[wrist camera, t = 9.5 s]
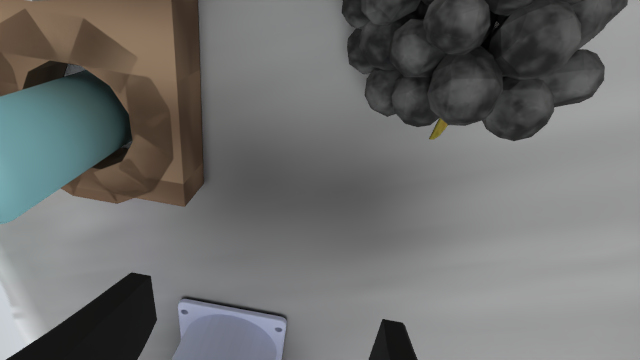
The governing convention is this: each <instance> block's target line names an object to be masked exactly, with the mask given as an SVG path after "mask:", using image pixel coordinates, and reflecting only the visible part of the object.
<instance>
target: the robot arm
mask: <svg viewBox="0 0 640 360" xmlns="http://www.w3.org/2000/svg"><path fill="white" fill-rule="evenodd" d="M178 314H179V324H180V335H181V342H180V344H179V346H178V347H177V349H176V351H175V353H174V355H173V357H172V359H171V360H282V354H283V347H284V340H285V332H286V325H287V321H286V319H285V318H283V317H280V316H275V315H270V314H264V313H259V312H254V311H248V310H243V309H238V308H232V307H227V306H222V305H216V304H211V303H205V302H200V301H195V300H189V299H181V300H180V302H179V303H178ZM156 321H157V317H156V310H155V303H154V296H153V289H152V282H151V276H148V275H142V274H137V273H130V274H129V275H127V276H126V277H124V278H123V279H122V280H120V281H119V282H117V283H116V284H115V285H113V286H112V287H111V288H109V289H108V290H107V291H105V292H104V293H102V294H101V295H100V296H98V297H97V298H96V299H94V300H93V301H92V302H90V303H89V304H87V305H86V306H85V307H83V308H82V309H80V310H79V311H78V312H76V313H75V314H73V315H72V316H71V317H69V318H68V319H66V320H65V321H63V322H62V323H61V324H59V325H58V326H56V327H55V328H53V329H52V330H51V331H49V332H48V333H46V334H45V335H43V336H42V337H40V338H39V339H37V340H36V341H34V342H32V343H31V344H29V345H28V346H26V347H25V348H23V349H22V350H20V351H19V352H17V353H16V354H14V355H13V356H11V357H9V358H8V359H6V360H137V359H138V357H139V356H140V354H141V352H142V350H143V348H144V346H145V344H146V342H147V340H148V338H149V336H150V334H151V332H152V330H153V327H154V325H155V323H156ZM369 360H418V359H417V357H416V354H415V352H414V349H413V347H412V344H411V341H410V339H409V336H408V333H407V330H406V327H405V325H404V324H403V323H401V322H395V321H390V320H385V319H382V322H381V325H380V328H379V331H378V334H377V337H376V340H375V343H374V345H373V348H372V351H371V354H370V357H369Z"/></svg>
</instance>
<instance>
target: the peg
mask: <svg viewBox="0 0 640 360" xmlns="http://www.w3.org/2000/svg"><path fill="white" fill-rule="evenodd" d="M131 140H132V134H131V127H130V120H129V114H128V112H127V111H126V109H125V108H124V106H123V105H122V103H121V102H120V100H119V99H118V97H117V96H116V94H115V93H114V91H113V90H112V88H111V87H110V86H109V85H108V84H106V83H105V82H104V81H102V80H101V79H99V78H98V77H96V76H95V75H93V74H92V73H91V72H89V71H88V70H85V71H81V72H78V73H75V74H72V75H69V76H65V77H62V78H59V79H56V80H52V81H49V82H46V83H43V84H39V85H36V86H33V87H30V88H27V89H23V90H20V91H17V92H14V93H10V94H7V95H4V96H1V97H0V224H3V223H7V222H10V221H12V220H14V219H15V218H17V217H18V216H20V215H21V214H23V213H24V212H26V211H27V210H29V209H30V208H32V207H33V206H35V205H36V204H38V203H39V202H41V201H42V200H44V199H45V198H47V197H48V196H50V195H51V194H53V193H54V192H56V191H57V190H58V189H60V188H61V187H63V186H64V185H66V184H67V183H69V182H70V181H72V180H73V179H75V178H76V177H78V176H79V175H81V174H82V173H84V172H85V171H87V170H88V169H90V168H91V167H93V166H94V165H96V164H97V163H99V162H100V161H102V160H103V159H104V158H106V157H107V156H109V155H110V154H112V153H113V152H115V151H116V150H118V149H119V148H121V147H122V146H124V145H125V144H127V143H128V142H130V141H131Z"/></svg>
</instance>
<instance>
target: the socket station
mask: <svg viewBox="0 0 640 360" xmlns="http://www.w3.org/2000/svg"><path fill="white" fill-rule="evenodd" d="M67 64H74V65H80V66H82V67H83V68H85V69H86V70H88V71H89V72H91V73H92V74H93V75H95V76H96V77H98V78H99V79H101V80H102V81H104V82H105V83H106V84H108V85H109V86H110V87H111V88H112V90H113V91H114V93H115V94H116V96H117V97H118V99H119V100H120V102H121V103H122V105H123V106H124V108H125V109H126V111H127V112H128V114H129V120H130V127H131V134H132V141H133V142H132V144H131V146H130V148H129V149H124V148H119V149H118V150H116V151H115V152H113V153H112V154H110V155H109V156H107V157H106V158H104V159H103V160H102V161H100V162H99V163H97V164H96V165H94V166H93V167H91V168H90V169H88V170H87V171H85V172H84V173H82V174H81V175H79V176H78V177H76V178H75V179H73V180H72V181H70V182H69V183H67V184H66V185H64V186H63V187H61V189H63V190H65V191H66V192H68V193H69V194H71V195H73V196H78V197H83V198H89V199H94V200H100V201H106V202H111V203H117V204H118V203H121V202H124V201H126V200H129V199H132V198H139V199H145V200H150V201H156V202H161V203H167V204H172V205H178V206H183V207H185V206H186V205H187V203H188V202H189V201H190V200H191V199H192V197H193V196H194V195H195V194H196V192H197V191H198V190H199V189H200V187H201V186H202V185H203V184H204V177H203V146H202V115H201V84H200V52H199V21H198V0H0V97H1V96H4V95H7V94H10V93H14V92H17V91H20V90H23V89H27V88H30V87H33V86H36V85H39V84H43V83H46V82H49V81H52V80H56V79H59V78H62V77H63V75H64V72H65V70H66V67H67Z"/></svg>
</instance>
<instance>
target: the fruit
mask: <svg viewBox="0 0 640 360" xmlns="http://www.w3.org/2000/svg"><path fill="white" fill-rule="evenodd" d="M627 2H628V0H343V6H342V14H343V15H344V17H345V19H346V21H347V22H348V23H349V24H350V25H351V26H353V27H355V28H357V29H356V30H355V31H354V32H353V33H352V34H351V36H350V37H349V38H348V46H347V49H348V57H349V64H350V65H352V66H353V67H354V68H356V69H357V70H358V71H360V72H361V73H362V74H367V73H371V74H370V75H369V77H368V78H367V81H366V89H365V97H366V99H367V101H368V103H369V105H370V107H371V108H372V109H373V110H375V111H377V112H379V113H381V114H383V115H385V116H387V117H388V116H391V115H394V114H397V115H398V116H399V117H400V118H401V120H402V121H403V122H404V123H405V124H408V125H412V126H416V127H421V126H427V125H431V124H432V123H433V122H435V121H436V120H437V119H439V120H438V122H437V124H436V126H435V128H434V130H433V132H432V134H431V136H430V138H429V139H435V138H437V137H438V136H440V134H441V133H442V132H443V130H445V128H446V127H447V125H464V126H465V125H469V124H472V123H475V122H478V121H481V120H482V121H483V123H484V125H485V127H486V129H487V130H489V131H490V132H492V133H493V134H495V135H496V136H497V137H500V138H504V139H508V140H512V141H516V140H520V139H525V138H529V137H532V136H533V135H534V134H535V133H537V132H538V131H539V130H540V129H541V128H542V127H544V126H545V125H546V124H547V123H548V121H549V119H550V117H551V115H552V114H553V112H554V107H558V106H563V105H569V104H574V103H580V102H582V101H584V100H586V99H588V98H590V97H592V96H593V95H594V93H595V92H596V90H597V89H598V88H599V86H600V85H601V84H602V82H603V81H604V70H605V67H604V65H603V63H602V62H601V60H600V58H599V57H598V55H597V54H596V53H593V52H591V51H589V50H584V49H582V50H578V49H579V48H581V47H582V46H583V45H585V44H586V43H587V42H589V41H590V40H591V39H592V38H594V37H595V36H596V35H597V34H598V33H599V32H600V31H602V30H603V29H604V27H605V26H606V24H607V23H608V22H609V21H610V20H612V19H613V18H614V17H615V16H616V15H617V14H618V13H619V12H620V11H621V10H622V9H623V8H624V7H626V6H627ZM496 21H497V22H498V23H499V24H500V25H499V26H498V27H497V28H496V27H494V25H495V22H496Z"/></svg>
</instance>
